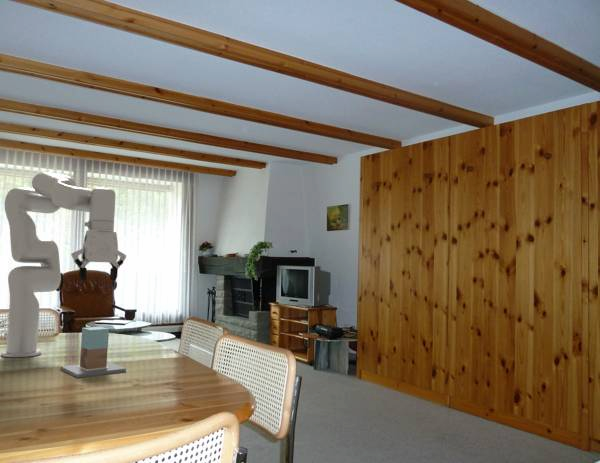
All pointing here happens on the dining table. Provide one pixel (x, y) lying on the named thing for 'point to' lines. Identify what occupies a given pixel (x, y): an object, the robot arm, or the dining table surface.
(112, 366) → the grey flat slab
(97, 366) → the walnut block
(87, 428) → the dining table surface
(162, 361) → the dining table surface
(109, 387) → the dining table surface
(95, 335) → the teal block
